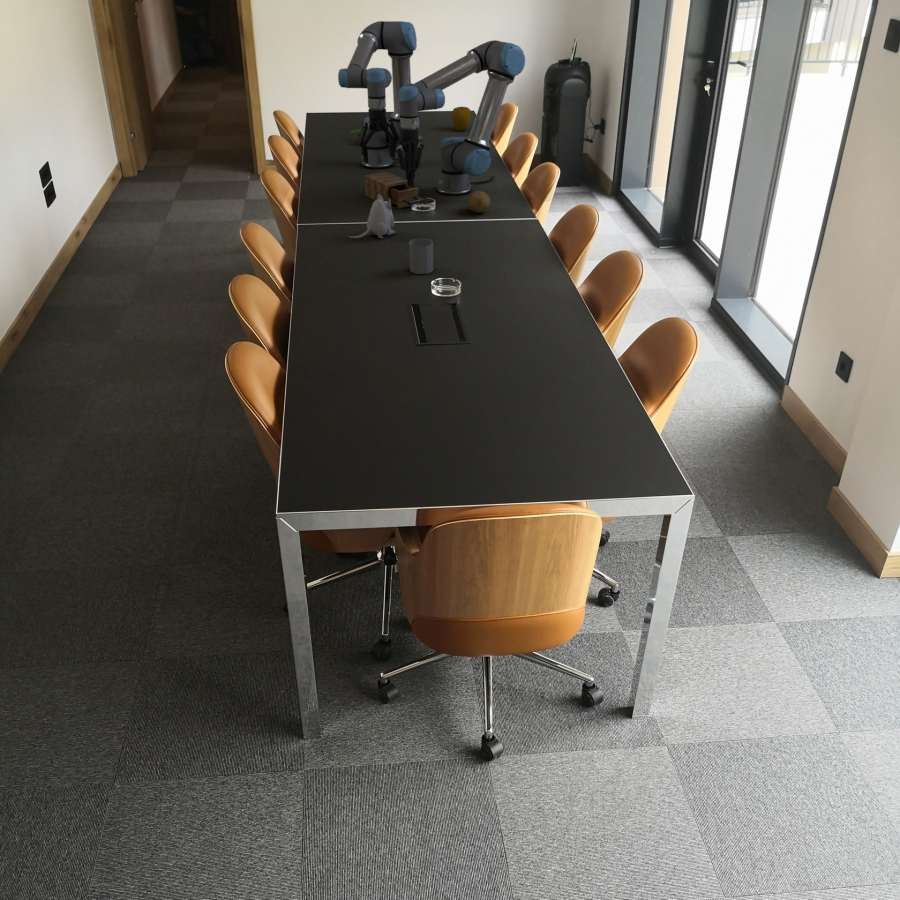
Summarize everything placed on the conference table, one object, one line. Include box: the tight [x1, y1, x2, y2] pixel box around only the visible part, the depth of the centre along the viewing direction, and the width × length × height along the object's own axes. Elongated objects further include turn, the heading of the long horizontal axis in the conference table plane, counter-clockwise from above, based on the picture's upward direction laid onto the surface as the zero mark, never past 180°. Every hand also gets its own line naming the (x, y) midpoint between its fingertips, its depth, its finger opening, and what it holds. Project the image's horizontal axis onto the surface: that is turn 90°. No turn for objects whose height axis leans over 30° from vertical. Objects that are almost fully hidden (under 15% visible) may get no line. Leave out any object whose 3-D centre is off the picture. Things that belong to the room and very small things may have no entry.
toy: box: [347, 194, 396, 240], centre depth 332 cm, size 9×24×15 cm, turn 137°
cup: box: [408, 237, 434, 275], centre depth 305 cm, size 8×8×10 cm
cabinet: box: [364, 171, 407, 206], centre depth 378 cm, size 18×11×9 cm, turn 36°
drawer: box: [389, 184, 424, 209], centre depth 370 cm, size 22×10×7 cm, turn 36°
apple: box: [451, 105, 472, 132], centre depth 487 cm, size 11×11×13 cm
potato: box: [467, 190, 491, 214], centre depth 363 cm, size 10×14×8 cm
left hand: (379, 160), depth 376 cm, fingers open, 13 cm apart
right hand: (410, 186), depth 362 cm, fingers closed
